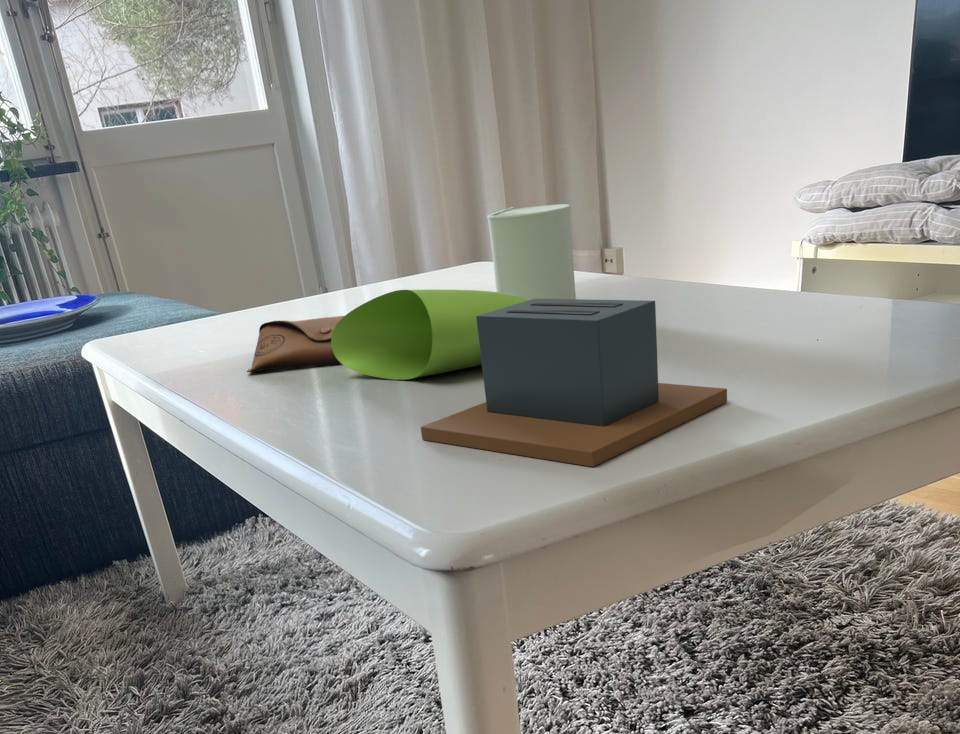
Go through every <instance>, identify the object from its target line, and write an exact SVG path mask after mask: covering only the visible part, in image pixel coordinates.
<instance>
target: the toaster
mask: <svg viewBox="0 0 960 734" xmlns="http://www.w3.org/2000/svg"><path fill="white" fill-rule="evenodd" d="M476 319H477V328H478V336H479V345H480V353H481V362H482V364H481V369H482V378H483V386H484V396H485V402H486V405H487V412H492V413H500V414H508V415H516V416H524V417H532V418H540V419H549V420H557V421H565V422H573V423H581V424H589V425H597V426H606V425H608V424H610V423H613V422H615V421H617V420H619V419H622V418H624V417H626V416H628V415H630V414H633V413H635V412H637V411H639V410H641V409H644V408H646V407H648V406H650V405H653V404H655V403H657V402H659V393H658V383H659V369H658V368H659V367H658V365H659V363H658V342H657V339H658V338H657V311H656V301H655V300H641V299H640V300H634V299H633V300H632V299H631V300H630V299H627V300H626V299H581V298H579V299H578V298H576V299H532V300H528V301H525V302H522V303H518V304H515V305H512V306H508V307H505V308H502V309H498V310H495V311H492V312H488V313H485V314H482V315H478V316H476Z"/></svg>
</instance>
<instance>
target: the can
mask: <svg viewBox="0 0 960 734" xmlns="http://www.w3.org/2000/svg"><path fill="white" fill-rule="evenodd" d="M486 217H487V223H488V230H489V236H490V247H491V254H492V262H493V263H492V264H493V273H494V282H495V292H499V293H505V294H510V295H514V296H518V297H522V298H525V299H528V300H532V299H577V295H576V282H575V268H574V256H573V255H574V254H573V253H574V252H573V240H572V239H573V238H572V222H571V205H570V204H568V203H567V204H566V203H563V204H562V203H560V204H559V203H558V204H545V205H544V204H543V205H536V206H526V207H520V208H519V207H518V208H514V206H512V207H508V208H504V209H502V210H498V211H496V212H493V213H489V214H487V215H486Z"/></svg>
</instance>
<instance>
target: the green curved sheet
mask: <svg viewBox="0 0 960 734" xmlns="http://www.w3.org/2000/svg"><path fill="white" fill-rule="evenodd" d="M525 301H528V299H525V298H522V297H518V296H514V295H510V294H505V293H499V292H496V291H490V290H475V289H473V290H472V289H443V288H442V289H438V288H437V289H432V288H431V289H397V290H393V291H390V292H386V293H384V294H381V295H378V296H377V297H374V298H372V299H370V300H368V301H366V302H364V303H362V304H361V305H359V306H357V307H356V308H354V309H352V310H350V312H348V313H346V314H345V315H343V316H344V317H343V318H342V319H341V320H340V321H339V322H338V323H337V325H336V326H335V328H334V330H333V332H332V337H331V345H332V350H333V353H334V355H335V357H336V358H337V360H338V361H339V362H340V363H341V364H340V365H342V366H344V367H345V368H347V369H349V370H351V371H353V372H356V373H359V374H361V375H366V376H369V377H374V378H379V379H386V380H395V381H398V380H401V381H403V380H411V379H418V378H423V377H428V376H433V375H439V374H444V373H449V372H454V371H459V370H463V369H468V368H472V367H477V366H482V362H481V353H480V345H479V336H478V328H477V319H476V316H478V315H482V314H485V313H488V312H492V311H495V310H498V309H502V308H505V307H508V306H512V305H515V304H518V303H522V302H525Z"/></svg>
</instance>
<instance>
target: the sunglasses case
mask: <svg viewBox="0 0 960 734" xmlns="http://www.w3.org/2000/svg"><path fill="white" fill-rule="evenodd" d="M344 316H345V315H339V316H327V317H318V318H310V319H302V320H271V321H267V322H264V323H262V324H261V325H260V327H259V329H258V338H257V340H256V341H257V342H256V346H255V350H254V354H253V360H252V363H251V367H250V368H248V369H247V371H246V373H254V372H259V371H267V370H278V369H296V368H305V367H306V368H307V367H319V366H321V367H322V366H332V365H342V364H341V363H340V362H339V361H338V360H337V358H336V357H335V355H334V353H333V350H332V345H331V337H332V332H333V330H334V328H335V326H336V325H337V323H338V322H339V321H340V320H341V319H342V318H343V317H344Z"/></svg>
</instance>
